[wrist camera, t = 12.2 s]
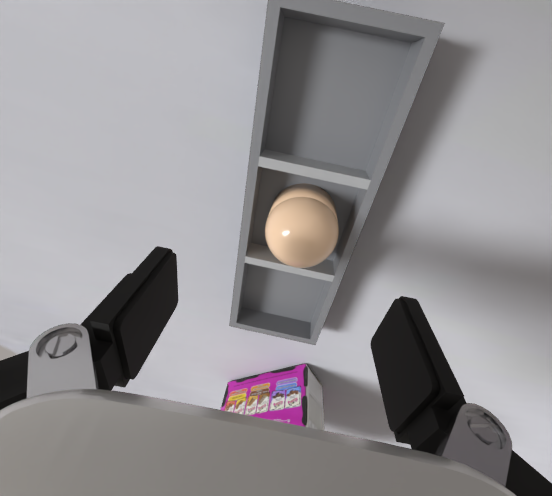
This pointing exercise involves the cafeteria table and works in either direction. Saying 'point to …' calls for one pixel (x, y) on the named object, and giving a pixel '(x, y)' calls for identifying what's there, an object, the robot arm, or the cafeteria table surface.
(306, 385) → the candy bar box
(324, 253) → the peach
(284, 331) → the tray
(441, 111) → the cafeteria table surface
